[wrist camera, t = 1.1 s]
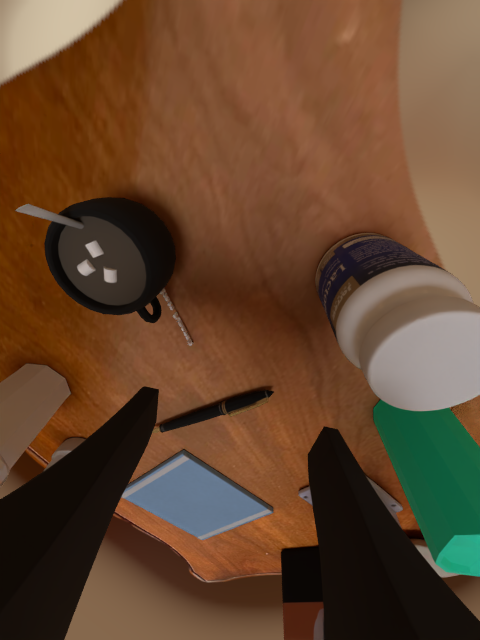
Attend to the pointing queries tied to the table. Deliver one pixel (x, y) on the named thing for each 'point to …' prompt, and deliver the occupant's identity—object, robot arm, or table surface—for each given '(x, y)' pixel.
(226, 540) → the table surface
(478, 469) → the candle
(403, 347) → the pill bottle
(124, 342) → the table surface
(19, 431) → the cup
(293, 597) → the battery
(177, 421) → the fountain pen
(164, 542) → the table surface
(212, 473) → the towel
